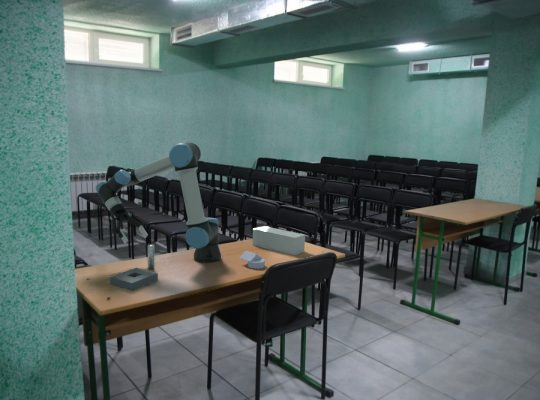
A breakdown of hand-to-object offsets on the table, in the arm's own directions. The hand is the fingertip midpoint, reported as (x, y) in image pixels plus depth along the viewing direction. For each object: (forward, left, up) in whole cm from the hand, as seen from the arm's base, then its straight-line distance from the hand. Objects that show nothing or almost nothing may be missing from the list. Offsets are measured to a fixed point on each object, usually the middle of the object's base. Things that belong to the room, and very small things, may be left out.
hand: (136, 239), depth 224 cm
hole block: (+19, +18, -14) cm, 29 cm away
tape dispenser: (-35, +50, -14) cm, 62 cm away
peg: (0, +10, -14) cm, 17 cm away
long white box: (-72, +45, -14) cm, 86 cm away
